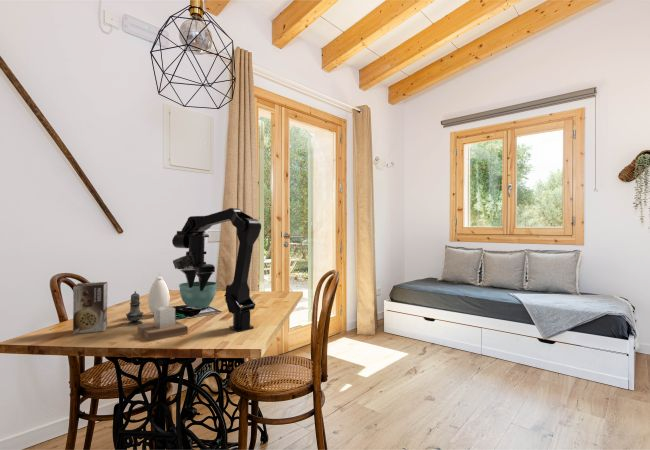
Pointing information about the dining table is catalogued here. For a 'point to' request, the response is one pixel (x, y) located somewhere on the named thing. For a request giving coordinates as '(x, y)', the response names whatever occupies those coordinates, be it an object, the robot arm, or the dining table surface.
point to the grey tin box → (164, 317)
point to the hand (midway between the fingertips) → (195, 289)
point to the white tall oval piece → (158, 294)
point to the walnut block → (162, 331)
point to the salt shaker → (134, 311)
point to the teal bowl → (197, 294)
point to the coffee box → (89, 307)
